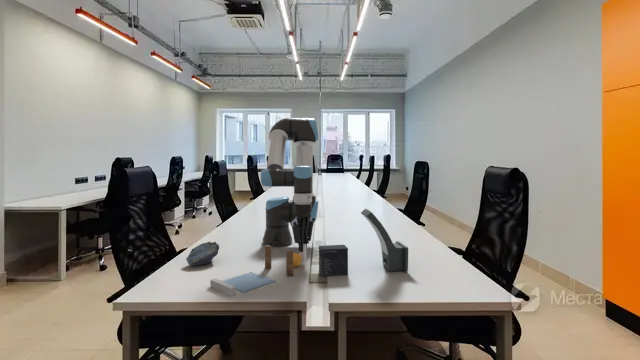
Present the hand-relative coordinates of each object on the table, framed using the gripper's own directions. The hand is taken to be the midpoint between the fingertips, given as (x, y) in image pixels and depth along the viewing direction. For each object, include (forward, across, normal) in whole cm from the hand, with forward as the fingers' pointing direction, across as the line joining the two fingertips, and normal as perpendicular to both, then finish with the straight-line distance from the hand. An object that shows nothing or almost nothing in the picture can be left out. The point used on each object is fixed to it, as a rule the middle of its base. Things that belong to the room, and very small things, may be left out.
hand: (302, 258), depth 152 cm
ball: (-1, -5, 0) cm, 5 cm away
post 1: (+2, -13, +7) cm, 15 cm away
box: (+2, -1, -17) cm, 17 cm away
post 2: (+2, -14, -6) cm, 15 cm away
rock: (+2, -27, +31) cm, 42 cm away
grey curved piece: (+2, +16, -29) cm, 33 cm away
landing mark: (+2, -28, +1) cm, 28 cm away
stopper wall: (+2, -39, +1) cm, 39 cm away
